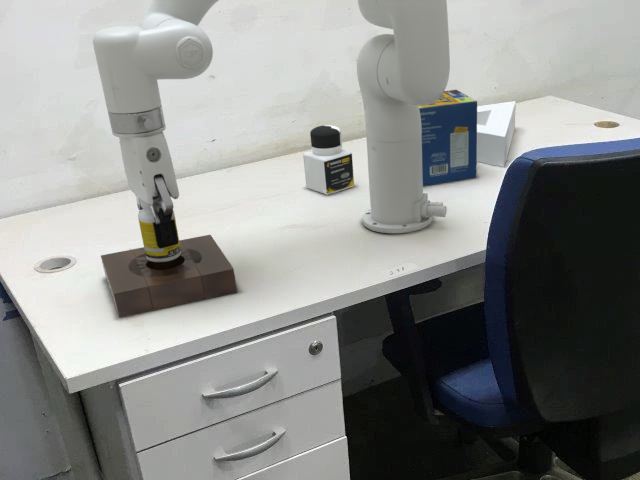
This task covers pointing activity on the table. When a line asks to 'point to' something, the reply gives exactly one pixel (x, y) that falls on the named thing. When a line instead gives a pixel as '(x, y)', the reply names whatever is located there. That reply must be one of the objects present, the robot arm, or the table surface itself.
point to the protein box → (449, 138)
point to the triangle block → (495, 132)
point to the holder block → (168, 277)
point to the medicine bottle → (328, 162)
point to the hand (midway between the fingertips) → (160, 238)
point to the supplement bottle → (149, 237)
